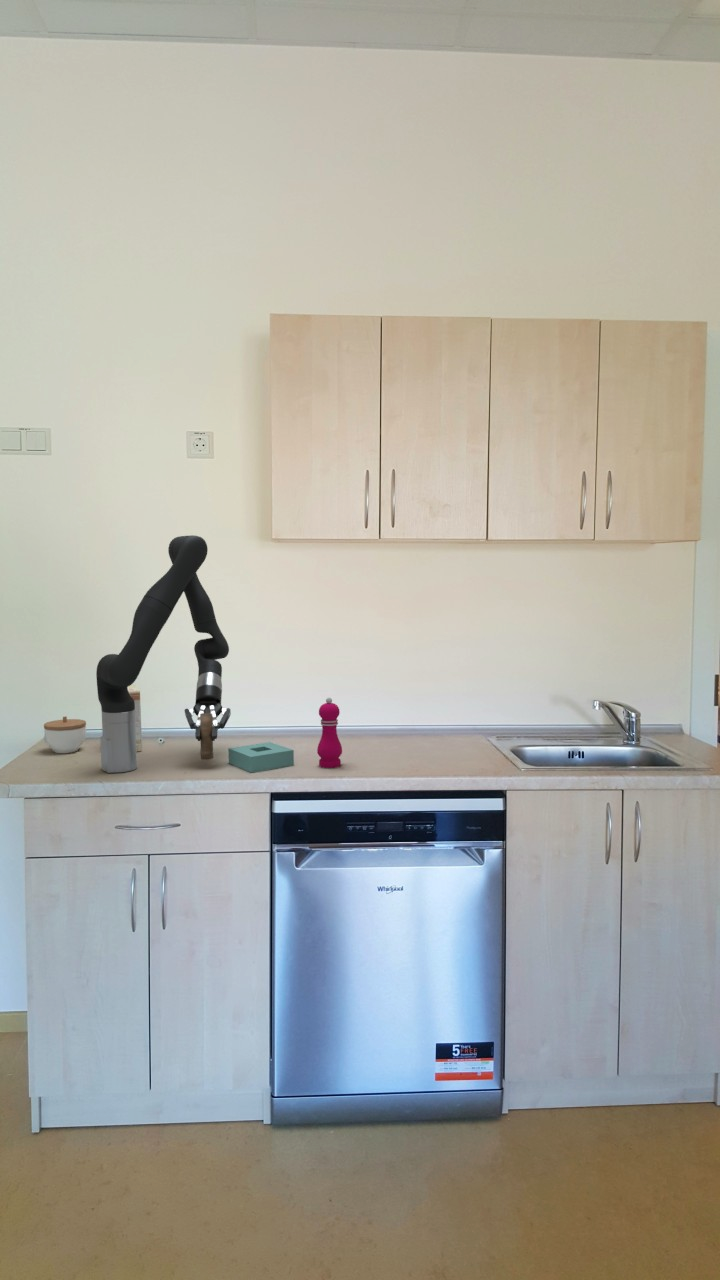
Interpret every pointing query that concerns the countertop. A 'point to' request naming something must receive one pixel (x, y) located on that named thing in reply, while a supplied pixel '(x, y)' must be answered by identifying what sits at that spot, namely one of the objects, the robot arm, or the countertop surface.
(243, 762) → the socket block
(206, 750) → the peg
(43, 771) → the countertop surface
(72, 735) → the lidded bowl
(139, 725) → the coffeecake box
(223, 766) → the countertop surface
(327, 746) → the pepper mill
